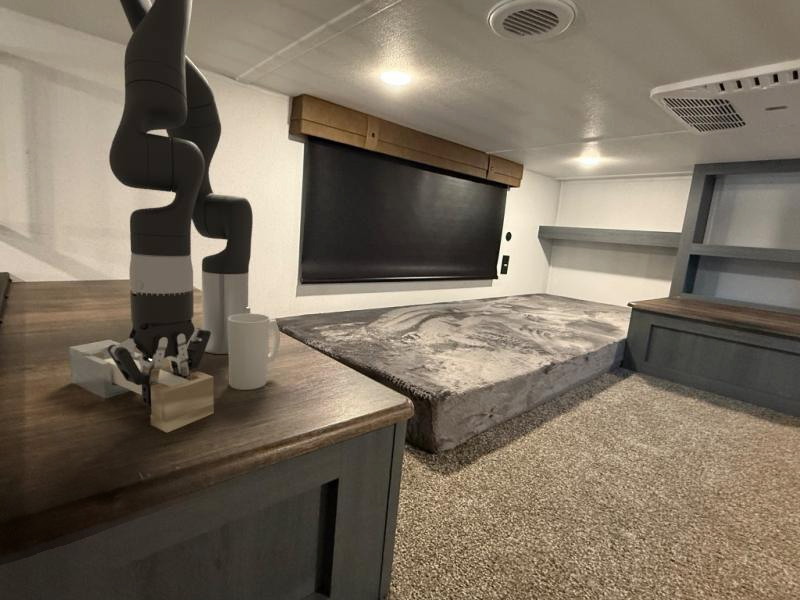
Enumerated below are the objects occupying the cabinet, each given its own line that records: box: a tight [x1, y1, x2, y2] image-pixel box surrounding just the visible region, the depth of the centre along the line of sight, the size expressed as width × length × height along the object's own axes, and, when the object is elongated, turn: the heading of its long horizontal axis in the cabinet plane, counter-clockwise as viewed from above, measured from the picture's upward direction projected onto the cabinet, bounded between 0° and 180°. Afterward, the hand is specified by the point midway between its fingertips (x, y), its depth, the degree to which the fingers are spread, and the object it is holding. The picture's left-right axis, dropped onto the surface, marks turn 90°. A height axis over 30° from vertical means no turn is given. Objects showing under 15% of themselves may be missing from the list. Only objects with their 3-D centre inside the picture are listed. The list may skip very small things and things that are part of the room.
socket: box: [150, 371, 215, 433], centre depth 55 cm, size 4×7×6 cm, turn 152°
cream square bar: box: [105, 358, 190, 396], centre depth 58 cm, size 18×3×3 cm, turn 62°
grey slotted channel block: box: [68, 339, 141, 400], centre depth 63 cm, size 10×6×6 cm, turn 62°
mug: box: [228, 313, 281, 391], centre depth 69 cm, size 10×7×12 cm, turn 146°
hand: (165, 402), depth 57 cm, fingers closed on cream square bar, 3 cm apart
